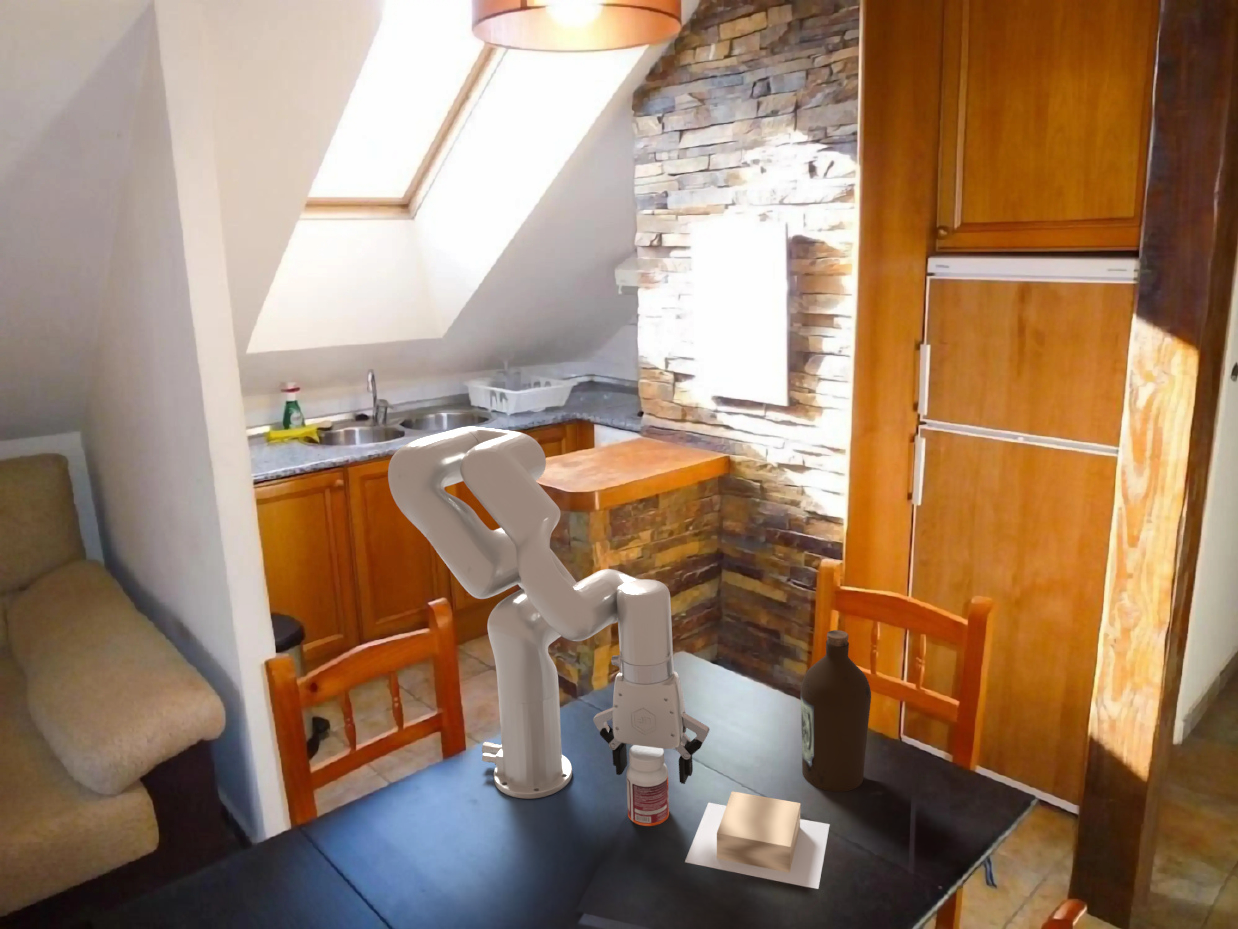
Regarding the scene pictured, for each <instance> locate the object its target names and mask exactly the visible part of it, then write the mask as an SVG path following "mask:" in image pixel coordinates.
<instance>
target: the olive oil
mask: <svg viewBox="0 0 1238 929" xmlns="http://www.w3.org/2000/svg"><path fill="white" fill-rule="evenodd" d="M826 639H827V640H826V641H825V655H824V656H823V657H822V658H820V659H819V660H818V661H817V662H815V663H814V664H812V666H810V667H809V669H807V670H806V673H805V674H804V676H803V679H802V682H801V685H800V693H799V694H800V714H801V715H800V719H801V761H802V762H801V764H802V765H801V766H802V768H801V771H802V772H801V773H802V776H803V778H804V780H805V781H806V782H808V784H810V785H811V786H813V787H815V788H817V789H820V790H824V791H828V792H833V793H834V792H835V793H839V792H840V793H841V792H842V793H843V792H848V791H853V790H855V789H857V788H859V787H860V786H861V785H862V783H863V782H864V774H865V773H864V772H865V760H866V759H865V758H866V751H867V750H866V749H867V739H868V738H867V737H868V730H869V721H870V720H869V719H870V711H871V703H872V691H871V690H872V689H871V687H870V682H869V680H868V677H867V676H866V674H865V673H864V672H863V670H862V669H860V667H859V666H857V664H855V663H854V662H853V660H851V659H850V657H849V651H850V650H849V648H850V643H849V634H848V633H847V632H846V631H843V630H839V629H836V630H830V631H828V632H827V633H826Z"/></svg>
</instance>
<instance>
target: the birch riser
mask: <svg viewBox="0 0 1238 929" xmlns="http://www.w3.org/2000/svg"><path fill="white" fill-rule="evenodd" d="M801 804H802V803H800V802H795V801H789V800H784V799H778V798H773V797H767V796H761V795H755V794H749V793H745V792H737V791H733V790H732V791H731V793H730V795H729V798H728V801H727V804H726V805H725V806H726V809H725V812H724V814H723V817H722V820H721V823H720V825H719V828H718V831H717V858H718V859H723V860H728V861H733V862H738V863H743V864H748V865H753V866H758V867H763V868H768V869H773V870H778V871H783V872H788V873H790V870H791V865H792V861H793V856H794V852H795V848H796V843H797V839H798V834H799V830H800V819H801V806H802V805H801Z"/></svg>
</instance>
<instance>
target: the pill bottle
mask: <svg viewBox="0 0 1238 929" xmlns="http://www.w3.org/2000/svg"><path fill="white" fill-rule="evenodd" d="M628 753H629V754H628V755H629V756H628V761H629V762H628V763H629V764H628V766H627V767H626V768H627V769H626V797H627V798H626V799H627V801H626V802H627V803H626V804H627V816H628V819H629V820H630V821H632V822H633V823H634V824H636V825H639V826H644V827H652V826H653V827H654V826H657V825H658V826H659V825H660V824H663V823H664V822H665V821H666V820H668V818H669V816H670V801H669V800H670V796H669V795H670V794H669V792H670V790H669V788H670V787H669V769H668V766H667V765H666V763H665V762H666V761H665V749H663V748H654V747H646V746H639V745H632V746H631V747H630V748H629V751H628Z"/></svg>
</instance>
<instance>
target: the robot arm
mask: <svg viewBox="0 0 1238 929" xmlns="http://www.w3.org/2000/svg"><path fill="white" fill-rule="evenodd" d="M546 458H547V457H546V455H545V452H544V450H543V447H542V446H541V445H540V443H538V441H537V440H536V439H535V438H534V437H532V436H530V435H528V434H526V433H523V432H520V431H516V430H515V431H513V430H504V429H498V428H497V429H495V428H486V427H481V426H479V427H478V426H462V427H458V428H454V429H451V430H447V431H444V432H439V433H434V434H431V435H427V436H424V437H421V438H417V439H415V440H412V441H410V442H408V443H406V444H404V445H403V446H401V447H400V448H399V449H398V450H396V451H395V452H394V454H393V455H392V457H391V459H390V460H389V464H388V470H387V471H388V472H387V479H388V480H387V481H388V485H389V489H390V493H391V496H392V498H393V500H394V502H395V504H396V506H397V507H398V508H399V510H400V512H401V513H402V514H403V515H404V516H405V517H406V518H407V520H408V521H409V522H411V524H412V525H413V526H414V527H416V528H417V530H419V531H420V532H421V534H423V536H424V537H425V538H426V539H427V541H428V542H429V543H430V545H431V546H432V547H433V548H434V550H435V551H436V553H437V554H438V555H439V558H440V559H442V561H443V562H444V564H446V566H447V568H448V569H449V570H450V572H451V573H452V574H453V576H454V577H455V578H456V580H457V581H458V583H460V585H461V586H462V587H463V588H464V590H465V591H466V592H468V594H469V595H471V596H472V597H473V598H475V599H480V600H484V599H488V598H491V597H494V596H496V595H499V594H501V593H503V592H505V591H506V590H507V591H508V590H509V589H511V588H512V587H515V586H517V585H518V586H519V588H521V589H519V590H517V591H515V592H513V593H511V594H510V595H508V596H506V597H505V598H504V599H502V600H500V601H499V602H498V603H497V604H496V605H495V606H494V608H493V609H492V611H491V612H490V614H489V616H488V619H487V626H486V627H487V633H488V634H487V635H488V639H489V644H490V646H491V650H492V653H493V657H494V663H495V670H496V671H495V672H496V680H497V681H496V682H497V695H498V709H499V724H500V741H501V743H500V744H497V743H494V742H488V741H484V742H483V744H482V747H481V753H482V756H481V761H482V762H485V763H493V764H495V765H496V766H495V768H494V770H493V771H494V772H493V780H494V781H493V782H494V784H495V786H496V788H497V789H498V790H499V791H500V792H501V793H504V794H505V795H507V796H510V797H513V798H517V799H518V798H519V799H525V800H526V799H530V800H531V799H538V798H544V797H548V796H551V795H553V794H555V793H557V792H559V791H561V790H563V789H564V788H565V787H566V786H567V785H568V784H569V783H570V782H571V779H572V776H573V766H572V764H571V761H570V760H569V759H568V758H567V757H566V756H565V755H563V753H562V735H561V734H562V733H561V732H562V731H561V710H560V688H559V687H560V686H559V676H558V669H557V667H556V665H555V662H554V660H553V659H552V658H551V655H550V654H549V650H548V649H549V646H550V645H551V644H552V643H553V642H556V640H558V639H560V638H561V637H562V638H564V639H566V640H568V641H573V642H582V641H585V640H587V639H589V638H591V637H593V636H594V635H596V634H597V633H599V632H601V631H602V630H603V629H605V628H607V627H608V626H609V625H612V624H616V623H618V624H617V625H618V644H619V655H618V654H617V655H611V656H612V657H611V659H610V660H611V665H612V666H613V665H614V666H616V667H618V669H619V672H618V673H617V674H616V676H615V679H614V686H613V698H612V707H611V708H608V709H605V710H602V711H600V712H598V713H596V714H595V716H594V717H593V718H592V721H593V723H594V725H595V727H596V728H597V730H598V731H599V735H600V737H601V738H603V740H604V741H605V742H606V743H607V744H608V747H609V749H610V750H612V752H611V753H612V764H613V766H614V767H615V773H616V775H618V776H621V775H622V774H623V772H624V771H625V770H626V768H627V767H628V766H627V765H628V755H627V753H628V751H627V745H632V746H633V745H639V746H646V747H654V748H663V750H667V749H668V750H674V749H675V750H676V751H677V752H678V754H679V755H680V756H679V758H678V775H679V778H678V779H679V783H680V784H683V785H685V784H686V782H687V779H688V778H689V777H691V776H692V774H693V770H694V768H693V766H694V765H693V755H694V754H695V753H696V752H697V751H699V750H700V749H701V747H702V746H703V744H704V743H705V740H706V738H707V736H708V734H709V733H710V727H709V726H708V725H706V724H704V723H702V722H701V721H699V720H698V719H696V718H694V717H692V716H690V715H689V714H687V713H686V705H685V698H684V693H683V688H682V684H681V681H680V678H679V674H678V672H677V671H675V670H674V668H675V667H674V651H673V631H672V630H673V629H672V628H673V627H672V610H671V609H672V608H671V607H672V605H671V593H670V589H669V588H668V586H666V584H664V583H663V582H661V581H659V580H655V579H649V578H647V579H640V578H637V577H634V576H631V575H629V574H627V573H624V572H621V571H619V570H616V569H613V568H605V569H601V570H598V571H596V572H594V573H592V574H591V575H588V576H587V577H585V578H583V579H581V580H580V581H576V579H575V578H574V577H573V576H572V574H571V573H570V572H569V571H568V569H567V568H566V566H564V564H563V562H562V561H561V560H560V558H558V556H557V555H556V554H555V552H554V551H553V550H552V549H551V547H550V546H551V537H552V533H553V531H554V530H555V528H556V527H557V526H558V523H559V522H560V519H561V510H560V508H559V506H558V505H557V503H555V501H554V500H553V499H552V498H551V496H549V494H548V493H547V492H546V491H545V490H544V488H543V487H542V486H541V485H540V484H539V483H538V480H539V479H540V478H541V477H542V476H543V475H544V473H545V471H546V466H547V460H546ZM461 482H464V484H465V486H466V487H467V488H468V489H469V491H470V492H471V493H472V495H473V496H474V497H475V498H476V499H477V500H478V501H479V503H480V504H481V506H483V508H484V509H485V510H486V511H487V512H488V514H489V515H490V516H491V517H492V519H493V520H494V521H495V522H496V523H497V525H498V526H499V528H496V529H494V530H492V529H490V528H489V527H488V526H487V525H486V524H485V523H484V522H483V520H481V518H480V517H479V515H478V514H477V513H476V511H475V510H474V509H473V508H472V507H471V506H470V505H469V504H467V503H466V502H464V501H463V500H462V499H460V498H458V497H456V496H455V495H452V494H451V493H448V492H447V491H446V490H445V488H446V487H449V486H453V485H455V484H458V483H461ZM608 721H612V727H611V725H610V724H608ZM687 730H689V731H692V732H693V733H695V734H696V737H694V738H693V739H691V738H690V737H688V735H687V734H686V732H687Z"/></svg>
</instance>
